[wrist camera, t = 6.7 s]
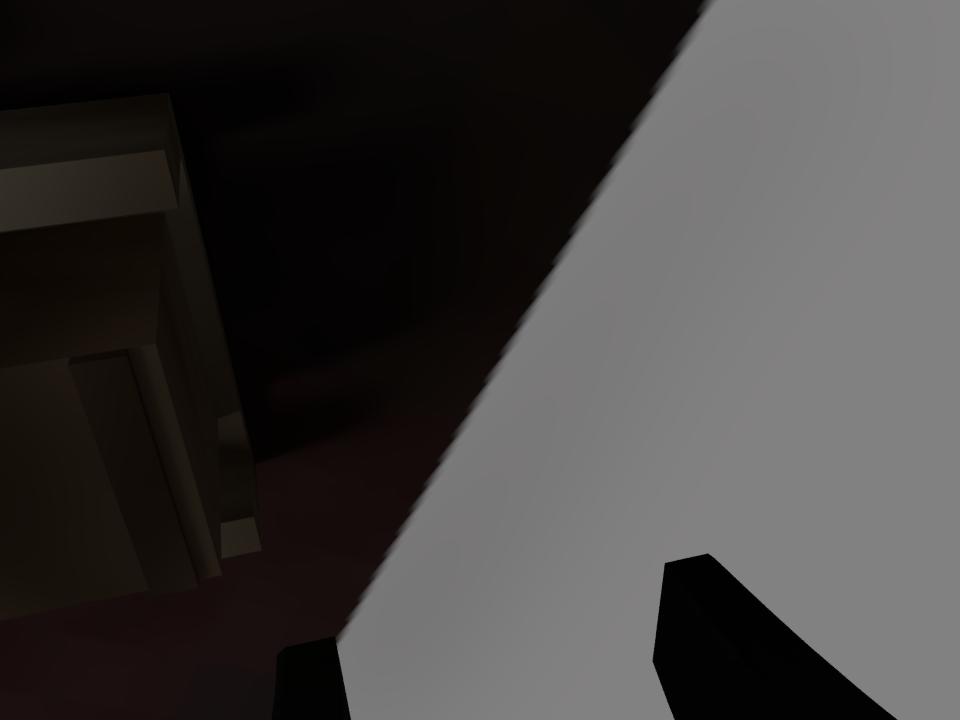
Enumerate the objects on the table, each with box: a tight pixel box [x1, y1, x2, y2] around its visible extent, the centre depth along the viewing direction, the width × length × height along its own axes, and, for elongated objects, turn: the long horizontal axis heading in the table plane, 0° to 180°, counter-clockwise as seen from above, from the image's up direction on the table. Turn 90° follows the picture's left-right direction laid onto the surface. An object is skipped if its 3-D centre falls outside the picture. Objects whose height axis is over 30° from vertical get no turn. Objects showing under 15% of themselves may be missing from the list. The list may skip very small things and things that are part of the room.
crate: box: [0, 213, 222, 621], centre depth 16 cm, size 6×5×5 cm
